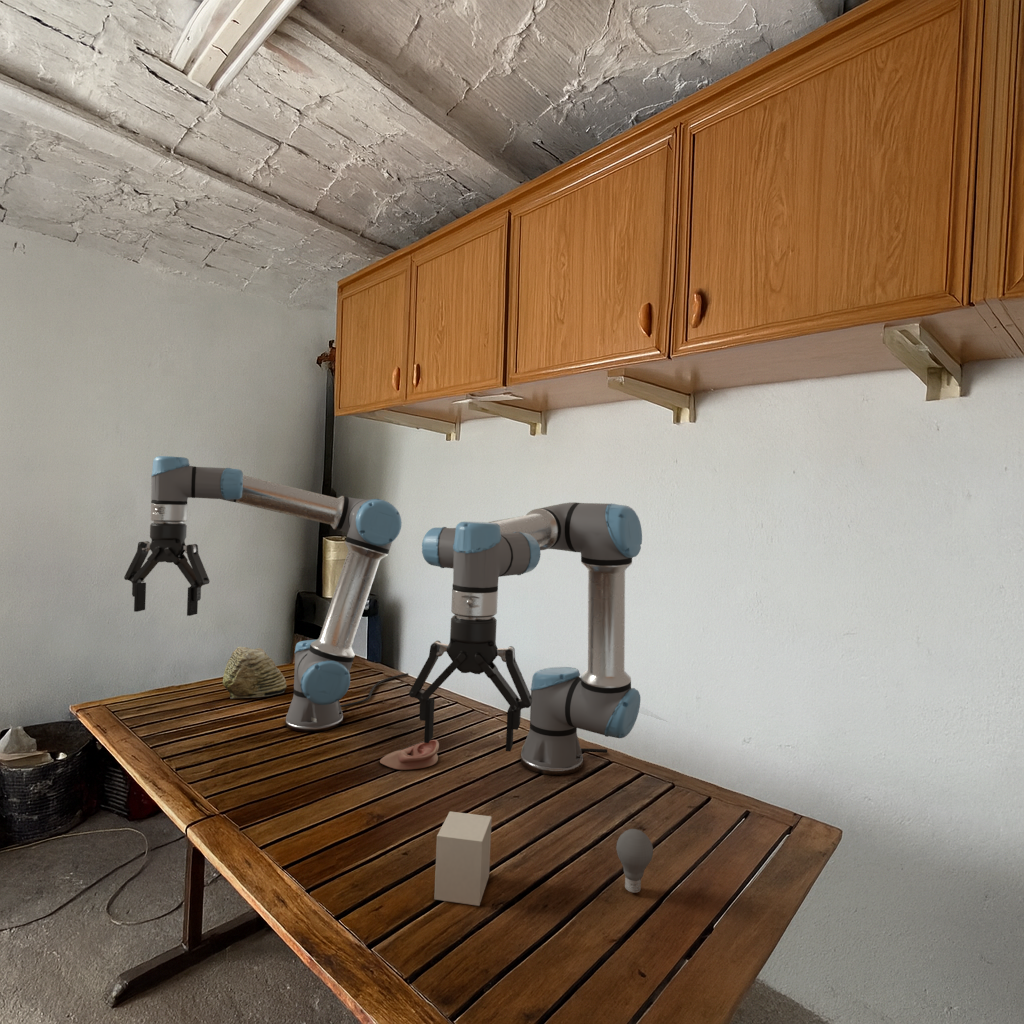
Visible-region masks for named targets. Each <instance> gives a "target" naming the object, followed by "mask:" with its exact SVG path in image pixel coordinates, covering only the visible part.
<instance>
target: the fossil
mask: <svg viewBox="0 0 1024 1024" xmlns="http://www.w3.org/2000/svg"><path fill="white" fill-rule="evenodd" d="M222 676H223V677H222V685H223V687H224V688H225V690H226V691H228V693H229V698H230V699H250V698H264V697H271V696H275V695H281V694H284V693H285V691H286V689H287V687H288V686H287V680H286V678H285V676H284V674H283V673H282V672H281V669H279V668H278V667H277V665H276V663H275V662H274V660H273V659H272V658H271V657H270V656H269V655H268V654H267V653H266V652H265V650H264V649H263V648H260V647H258V648H251V647H247V646H246V647H245V646H238V647H237V648H236V649H235V650H233V651H232V653H231V656H230V657H229V659H228V660H227V663H226V666H225V668H224V671H223V675H222Z"/></svg>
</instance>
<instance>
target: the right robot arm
mask: <svg viewBox="0 0 1024 1024" xmlns="http://www.w3.org/2000/svg"><path fill="white" fill-rule="evenodd" d="M641 545H643V529H642V523H641V521H640V517H639V516H638V514H637V512H636V511H635V510H634V509H633V508H632V507H631V506H629V505H626V504H625V505H624V504H619V503H605V502H604V503H600V502H599V503H597V502H594V503H593V502H574V501H573V502H563V503H558V504H553V505H548V506H544V507H539V508H534V509H531V510H530V511H529V512H527V513H526V514H525V515H520V516H515V517H509V518H504V519H503V518H502V519H498V520H491V521H460V522H459V523H457V525H456V526H455V527H447V526H442V527H432V528H430V529H429V530H427V532H426V533H425V534H424V535H423V539H422V542H421V553H422V557H423V558H424V560H425V562H426V563H427V564H428V565H430V566H433V567H440V569H453V570H452V571H453V573H452V579H453V580H452V589H451V614H453V615H452V616H451V618H450V631H449V634H450V635H449V643H443V642H441V640H435V641H434V642H433V643H431V645H430V647H429V654H428V657H427V659H426V661H425V663H424V664H423V666H422V668H421V670H420V671H419V673H418V675H417V677H416V679H415V681H414V683H413V685H412V687H411V689H410V690H409V692H408V695H409V697H410V698H415V699H417V700H418V701H419V716H418V717H419V718H418V719H419V720H420V721H423V722H424V732H423V736H424V738H423V742H424V743H429V742H430V740H433V738H434V722H435V721H434V720H435V701H436V700H435V698H431V696H432V695H433V694H434V693H435V692H436V691H437V690H438V689H439V688H440V687H441V685H442V684H443V683H445V681H446V680H447V679H448V678H449V677H450V676H451V675H452V674H453V673H454V672H455V671H456V670H458V671H459V672H460V673H461V674H468V673H471V674H474V675H481V674H483V673H484V674H485V676H486V677H487V678H489V679H490V681H491V682H492V683H493V685H494V686H495V687H496V689H497V690H498V692H499V693H500V694H501V696H502V697H503V699H504V700H505V701H506V703H507V704H508V705H509V707H508V709H507V713H506V714H507V715H506V716H507V717H506V735H505V740H506V741H505V752H511V751H512V748H513V745H514V731H515V730H516V731H518V730H519V728H520V726H521V717H522V715H521V714H522V709H529V708H530V709H529V711H530V712H529V730H528V733H527V735H526V739H525V741H524V742H523V744H522V747H521V752H520V763H521V764H522V766H523V767H525V768H526V769H528V770H529V771H532V772H535V773H538V774H542V775H547V776H548V775H549V776H565V775H570V774H574V773H576V772H578V771H580V770H581V769H582V767H583V763H584V756H583V753H599V754H601V753H602V754H608V753H609V752H608V749H607V748H586V747H583V748H582V747H581V745H580V744H581V743H580V741H579V737H578V733H577V732H578V729H579V730H583V731H587V732H590V733H594V734H599V735H602V736H604V737H611V738H616V739H623V738H626V737H627V736H628V735H629V734H630V733H631V731H632V730H633V728H634V726H635V724H636V721H637V719H638V716H639V713H640V707H641V694H640V691H639V690H638V689H636V688H635V687H632V678H631V675H630V674H629V673H628V672H627V671H626V669H625V667H626V666H625V663H626V662H625V660H626V659H625V656H626V655H625V654H626V646H625V645H626V571H627V569H628V568H629V567H631V565H632V564H633V558H636V557H637V556H638V555H639V554H640V552H641V549H642V547H641ZM546 550H557V551H565V552H570V553H571V552H573V553H579V554H580V563H581V565H583V566H584V567H585V568H586V570H587V665H586V666H587V669H586V670H585V671H584V672H583V673H580V670H579V669H578V668H576V667H571V666H553V667H546V668H542V669H539V670H537V671H535V672H534V673H533V674H532V678H531V686H530V689H529V688H528V685H527V684H526V683H527V682H526V681H525V679H524V676H523V674H522V672H521V669H520V667H519V665H518V662H517V661H516V650H515V647H514V646H512V645H511V646H508V647H505V648H504V647H502V648H499V647H497V625H498V624H497V623H498V622H497V619H496V617H495V616H496V615H497V614H498V599H499V577H508V576H521V575H524V574H528V573H530V572H532V571H534V570H535V569H536V567H538V564H539V563H540V560H541V551H546ZM444 653H446V654H447V655H448V657H449V658H450V660H451V662H450V664H448V666H447V667H446V668H445V669H444V670H443V671H442V672H441V673H440V675H439V676H438V677H436V679H434V681H433V682H432V683H431V684H430V685H429V686H428V687H427V688H426V689H425V690H424V689H423V687H424V685H425V683H426V681H427V679H428V677H429V676H430V674H431V672H432V670H433V668H434V666H435V665H436V663H437V661H438V659H439V658H440V657H442V656H443V655H444ZM497 657H500V659H501V661H502V662H503V663H505V666H506V668H507V670H508V673H509V676H510V678H511V680H512V682H513V684H514V687H515V689H516V691H517V694H518V695H517V694H516V692H515V691H514V690H513V688H512V687H511V686H510V684H509V683H508V682H507V680H506V679H505V677H504V676H503V675H502V673H501V672H500V671H499V668H498V666H497V665H496V663H494V661H495V660H496V658H497Z"/></svg>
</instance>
